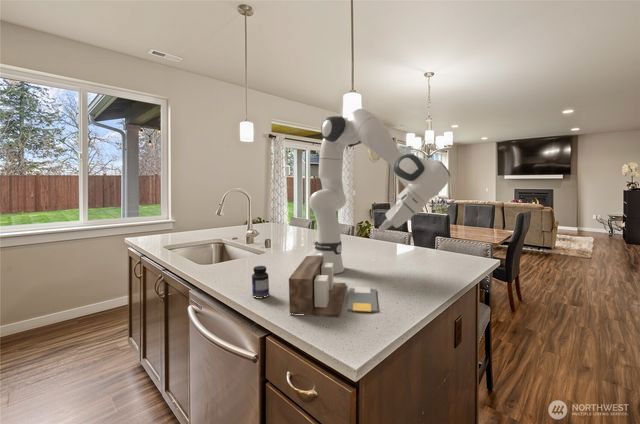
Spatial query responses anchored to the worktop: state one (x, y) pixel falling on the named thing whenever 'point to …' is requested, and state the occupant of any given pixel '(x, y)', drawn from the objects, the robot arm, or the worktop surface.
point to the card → (362, 300)
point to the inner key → (328, 273)
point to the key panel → (312, 290)
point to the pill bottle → (260, 282)
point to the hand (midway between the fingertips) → (380, 230)
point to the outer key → (321, 290)
